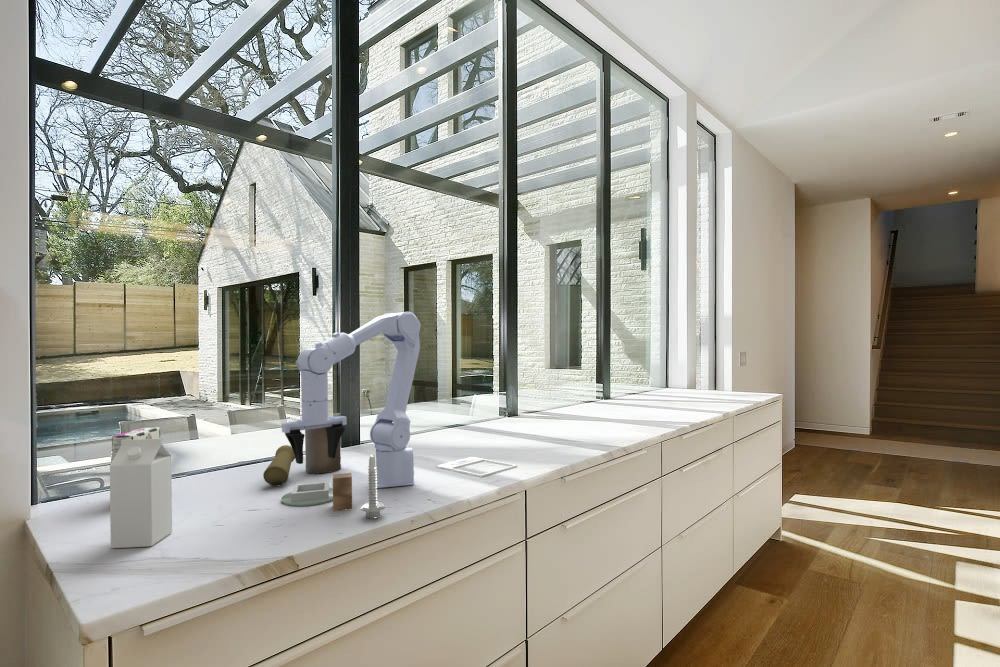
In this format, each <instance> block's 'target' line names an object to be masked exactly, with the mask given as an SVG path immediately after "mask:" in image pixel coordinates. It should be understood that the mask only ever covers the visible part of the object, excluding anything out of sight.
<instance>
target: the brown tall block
mask: <svg viewBox="0 0 1000 667" xmlns="http://www.w3.org/2000/svg"><path fill="white" fill-rule="evenodd" d="M352 474H353V473H352V472H343V473H333V474H332V488H333V501H332V510H333V511H332V512H336V510H338V511H346V510H345V509H347V510H353V479H352V478H353V477H352V476H353V475H352Z"/></svg>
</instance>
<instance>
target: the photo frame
mask: <svg viewBox="0 0 1000 667" xmlns="http://www.w3.org/2000/svg"><path fill="white" fill-rule="evenodd" d="M485 461H486V463H491V464H496V465H502V466H506V467H504V468H500V469H496V470H493V471H490V472H489V471H488V472H485V473H482V474H481V473H480V474H479V473H476V472H471V471H466V470H463V469H462V470H461V469H458V467H459V468H462V466H463V467H466V465H467V466H470V464H471V465H473V464H477V463H481V462H485ZM435 467H436V468H437V467H440V468H439V469H441V468H444V469H443V470H446V469H447V470H446V471H450V470H452V471H451V472H455V471H456V472H455V473H459V472H461V474H464V473H466V474H465V475H468V474H470V475H469V476H473V475H475V476H474V477H477V476H479V477H478V478H483V476H485V477H487V475H488V476H491V475H494V474H493V473H495V474H498V473H501V471H502V472H505V471H508V470H511V468H512V469H514V468H518V464H513V463H507V462H503V461H498V460H491V459H486V458H481V457H475V456H469V457H466V458H461V459H457V460H455V461H453V460H452V461H449V462H445V463H441V464H438V465H436V466H435ZM454 468H455V469H454ZM504 470H505V471H504ZM497 472H498V473H497ZM490 474H491V475H490Z"/></svg>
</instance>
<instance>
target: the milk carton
mask: <svg viewBox="0 0 1000 667" xmlns="http://www.w3.org/2000/svg"><path fill="white" fill-rule="evenodd" d="M162 441H163V440H162V438H160V439H130V440H121V447H120V449H119V450H118V452H117V454H116V456H115V457H114V459H113V458H112V459H113V460H112V461H111V463H110V464H109V498H110V499H109V501H110V502H109V507H110V508H109V512H110V513H109V514H110V515H109V516H110V517H109V518H110V520H109V521H110V548H111V549H121V548H122V549H124V548H142V547H143V548H144V547H152V546H154V545H155V544H157V543H158V542H160V541H161V540H163V539H164V538H166V537H168V536H169V535H170V534H172V533H173V498H172V496H173V495H172V492H173V491H172V490H173V489H172V488H173V487H172V483H173V482H172V479H173V478H172V455H171V454H170V452H169V451H168V450H167V449H166V448H165V446H164V445H163V444H162V443H163V442H162Z"/></svg>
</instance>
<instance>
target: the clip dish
mask: <svg viewBox="0 0 1000 667" xmlns="http://www.w3.org/2000/svg"><path fill="white" fill-rule="evenodd" d="M280 500H281V501H280V502H281V504H283V505H285V506H289V507H310V506H311V507H312V506H317V505H324V504H326V503H327V504H328V503H331V502H333V487H330V481H321V482H309V483H298V484H294V485H293V487H292V491H290V492H288V493H285V494H283V496H282V497H281V499H280Z"/></svg>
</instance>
